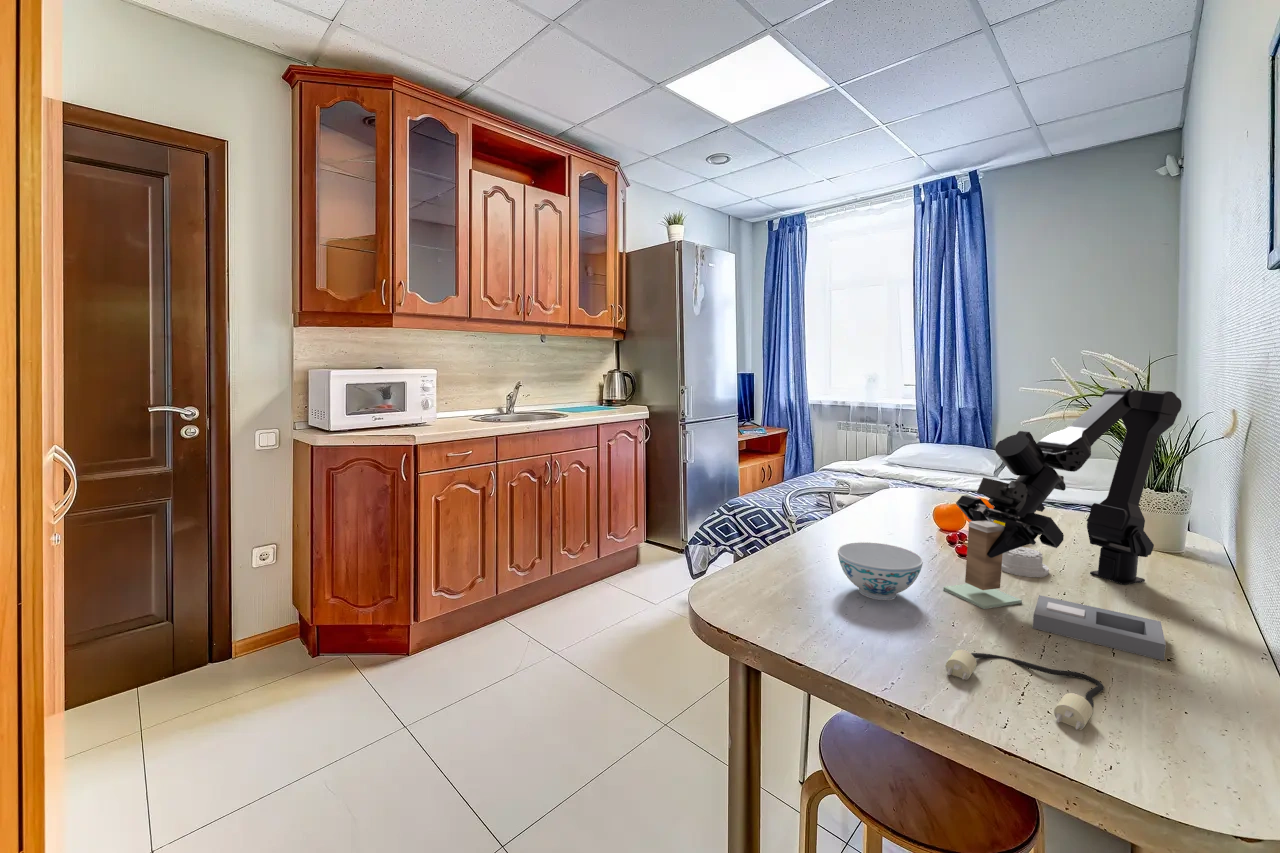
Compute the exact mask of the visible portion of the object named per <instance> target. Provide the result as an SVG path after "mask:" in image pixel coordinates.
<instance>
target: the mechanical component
mask: <svg viewBox="0 0 1280 853" xmlns="http://www.w3.org/2000/svg"><path fill="white" fill-rule="evenodd" d="M1043 559H1044V558H1043V553H1042V552H1041V551H1039V550H1035V549H1032V548H1029V547H1025V546H1022V547H1019V548H1016V549H1013V550H1010V551H1008V552H1005V553H1003V555H1002V569H1001V572H1004V573H1007V574H1011V575H1015V576H1020V577H1026V578H1027V577H1028V578H1044V577H1047V576H1048V575H1050V574H1049V573H1050V568H1049V566H1048V565H1047V564H1045V563H1043V562H1044V561H1043Z"/></svg>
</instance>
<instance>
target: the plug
mask: <svg viewBox="0 0 1280 853" xmlns="http://www.w3.org/2000/svg"><path fill="white" fill-rule="evenodd" d="M1004 527H1005V525H1004V524H1003V525H1002V524H1000V523H996V522H994V521H993V522H990V521H987V520H982V521H971V520H969V521H968V533H967V535H968V536H967V545H966V546H967V548H966V549H967V550H966V565H965V566H966V567H965V576H964V578H965V580H964V582H965V584H970V585H972V586H975V587H977V588H979V589H981V590H989V589H997V590H998V589H1001V581H1002V580H1001V579H1002V570H1001V569H1002V555H1003V554H1000V555H998V556H995V557H993V558H990V557H989V556H988V555H987V553H988V551H989V549H990V548H991V546H992V545H993V544H994V542H995V541H996V540H997V539H998V537H999V536H1000V535H1001V533H1002V532H1003V531H1004Z"/></svg>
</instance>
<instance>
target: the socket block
mask: <svg viewBox="0 0 1280 853" xmlns="http://www.w3.org/2000/svg"><path fill="white" fill-rule="evenodd" d="M1032 629H1034V630H1040V631H1043V632H1047V633H1050V634H1051V633H1052V634H1055V635H1059V636H1063V637H1068V638H1072V639H1075V640H1079V641H1082V642H1083V641H1084V642H1088V643H1090V644H1094V645H1099V646H1102V647H1108V648H1111V649H1116V650H1120V651H1124V652H1127V653H1132V654H1135V653H1136V654H1135V655H1140V656H1144V657H1147V658H1151V659H1154V660H1155V659H1156V660H1159V661H1163V662H1165V658H1166V657H1165V656H1166V647H1167V644H1166V639H1165V635H1164V630H1163V625H1162V621H1161V620H1156V619H1152V618H1148V617H1143V616H1137V615H1134V614H1129V613H1124V612H1120V611H1119V612H1118V611H1114V610H1109V609H1106V608H1101V607H1096V606H1091V605H1087V604H1082V603H1079V602H1073V601H1069V600H1063V599H1059V598H1055V597H1050V596H1045V595H1041V594H1039V595H1038V597H1037V601H1036V604H1035V607H1034V612H1033V616H1032Z"/></svg>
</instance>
